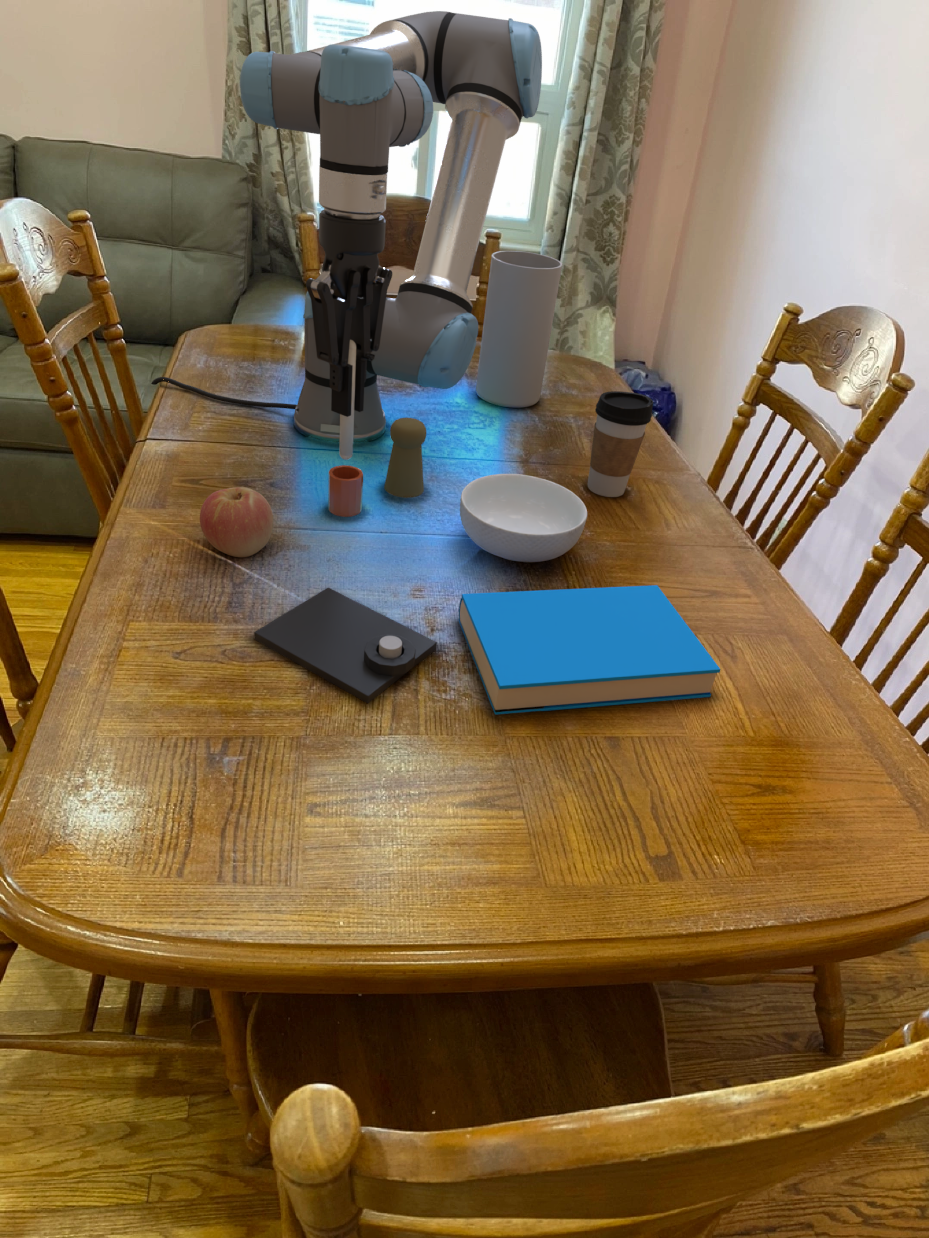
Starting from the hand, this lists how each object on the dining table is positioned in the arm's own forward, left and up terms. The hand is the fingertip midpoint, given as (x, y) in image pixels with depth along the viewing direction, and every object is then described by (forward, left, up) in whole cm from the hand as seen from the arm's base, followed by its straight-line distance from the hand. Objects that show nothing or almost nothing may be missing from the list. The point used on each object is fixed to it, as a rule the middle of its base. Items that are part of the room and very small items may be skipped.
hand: (347, 410), depth 106 cm
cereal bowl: (+23, +9, -15) cm, 29 cm away
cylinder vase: (-8, +57, -15) cm, 60 cm away
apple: (-3, -17, -15) cm, 23 cm away
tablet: (+20, -23, -15) cm, 34 cm away
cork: (+2, +11, -15) cm, 19 cm away
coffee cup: (+24, +35, -15) cm, 45 cm away
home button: (+26, -23, -13) cm, 37 cm away
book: (+41, -7, -15) cm, 44 cm away
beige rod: (0, 0, -7) cm, 7 cm away
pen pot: (0, 0, -15) cm, 15 cm away
